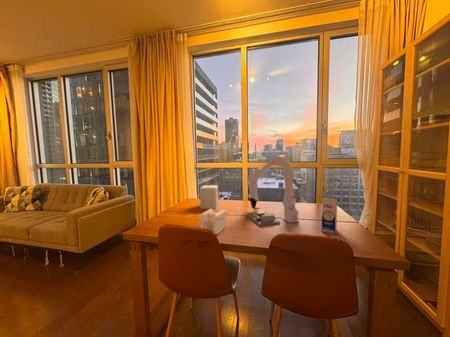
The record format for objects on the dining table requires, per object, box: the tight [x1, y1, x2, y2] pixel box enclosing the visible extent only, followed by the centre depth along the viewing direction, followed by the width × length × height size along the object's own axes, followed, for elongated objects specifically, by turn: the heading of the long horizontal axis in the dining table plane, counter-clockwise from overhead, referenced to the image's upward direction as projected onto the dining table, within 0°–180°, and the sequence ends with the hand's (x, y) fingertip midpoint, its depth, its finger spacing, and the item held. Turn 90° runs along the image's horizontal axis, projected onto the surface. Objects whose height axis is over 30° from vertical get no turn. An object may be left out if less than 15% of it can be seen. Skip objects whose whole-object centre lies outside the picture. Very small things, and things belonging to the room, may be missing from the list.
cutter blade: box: [252, 207, 266, 215], centre depth 149 cm, size 9×5×4 cm, turn 15°
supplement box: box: [199, 184, 220, 210], centre depth 179 cm, size 13×13×18 cm
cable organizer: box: [200, 209, 228, 235], centre depth 127 cm, size 15×11×12 cm
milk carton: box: [321, 196, 338, 235], centre depth 121 cm, size 7×7×20 cm
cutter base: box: [245, 211, 281, 227], centre depth 145 cm, size 24×14×6 cm, turn 15°
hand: (253, 208), depth 159 cm, fingers closed
